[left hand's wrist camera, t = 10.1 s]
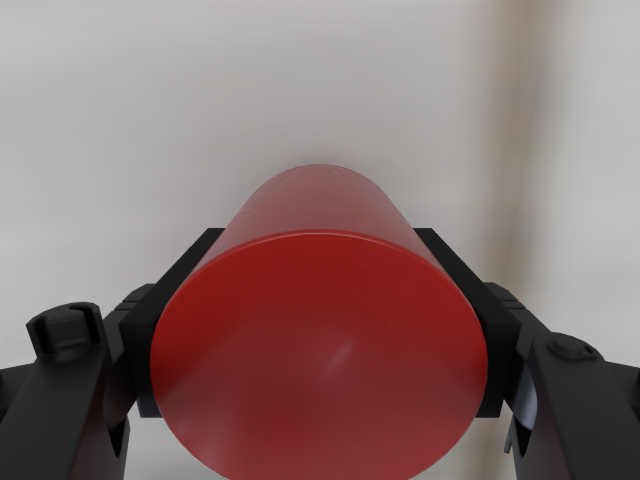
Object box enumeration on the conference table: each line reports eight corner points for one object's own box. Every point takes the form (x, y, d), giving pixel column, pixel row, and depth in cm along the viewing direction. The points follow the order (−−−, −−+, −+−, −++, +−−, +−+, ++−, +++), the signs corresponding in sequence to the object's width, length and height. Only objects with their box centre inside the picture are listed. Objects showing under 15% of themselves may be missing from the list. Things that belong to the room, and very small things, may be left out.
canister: (424, 183, 14) (547, 268, 6) (379, 331, 17) (429, 517, 9) (246, 147, 14) (152, 195, 6) (227, 305, 16) (144, 481, 8)
